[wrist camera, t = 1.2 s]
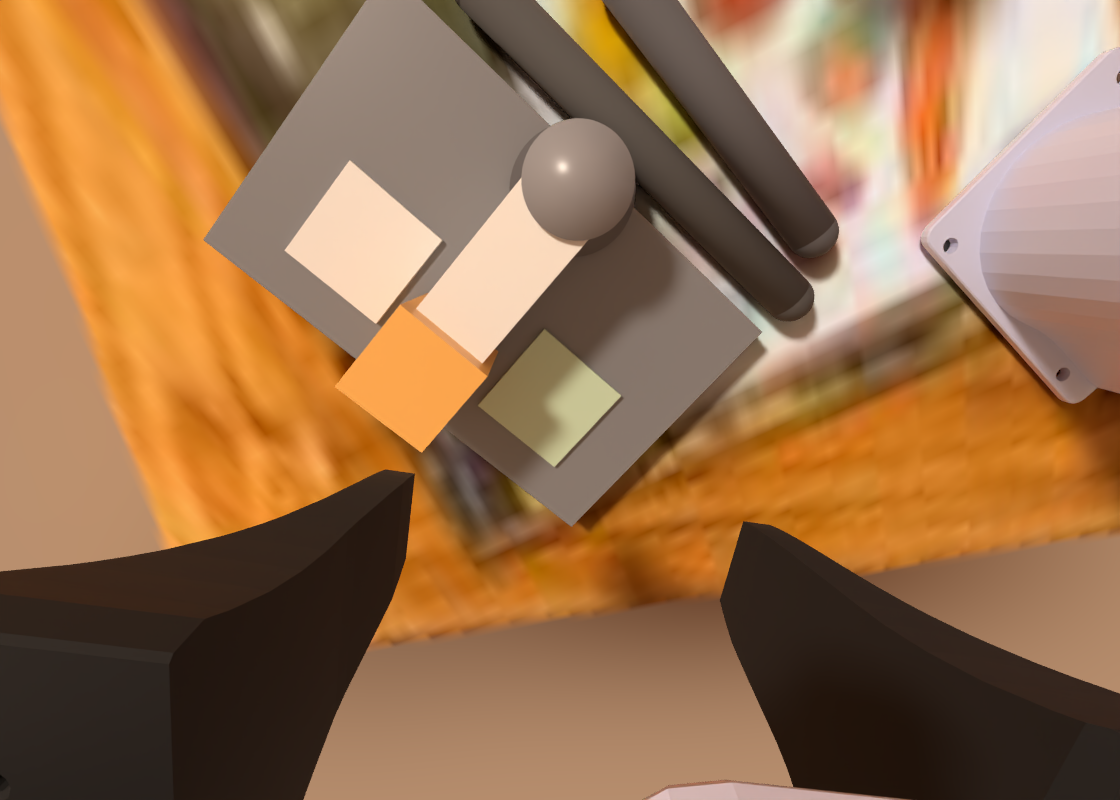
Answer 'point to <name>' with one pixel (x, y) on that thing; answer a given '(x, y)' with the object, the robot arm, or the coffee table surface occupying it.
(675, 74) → the dark grey rounded rod
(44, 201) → the coffee table surface
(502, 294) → the lever
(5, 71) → the coffee table surface
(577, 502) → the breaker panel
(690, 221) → the dark grey rod
